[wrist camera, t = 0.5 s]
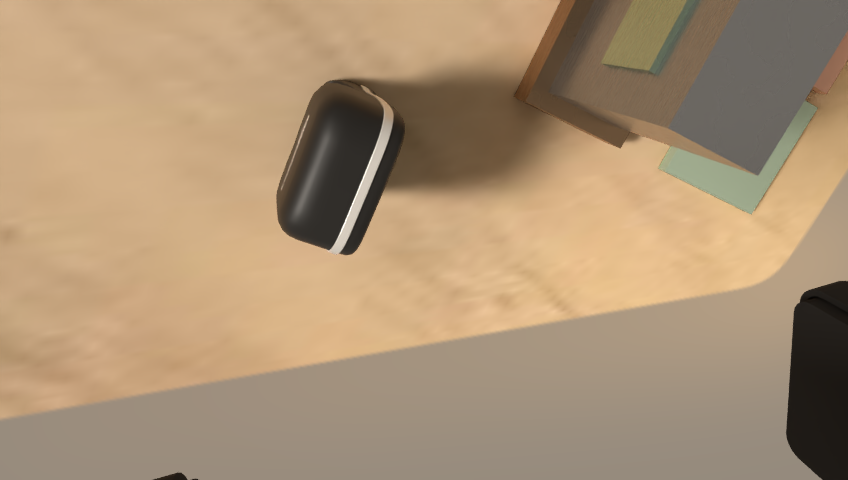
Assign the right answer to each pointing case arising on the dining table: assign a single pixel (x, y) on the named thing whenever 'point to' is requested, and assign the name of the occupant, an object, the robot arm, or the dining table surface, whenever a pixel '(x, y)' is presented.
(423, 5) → the dining table surface
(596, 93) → the grey unit
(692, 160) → the green pad
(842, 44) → the terracotta pad
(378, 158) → the battery charger
